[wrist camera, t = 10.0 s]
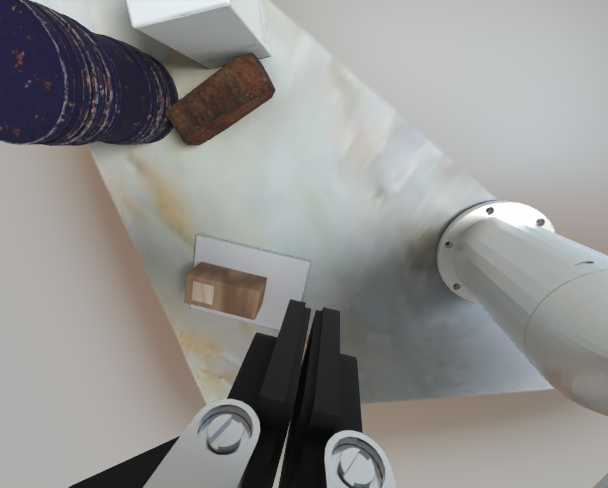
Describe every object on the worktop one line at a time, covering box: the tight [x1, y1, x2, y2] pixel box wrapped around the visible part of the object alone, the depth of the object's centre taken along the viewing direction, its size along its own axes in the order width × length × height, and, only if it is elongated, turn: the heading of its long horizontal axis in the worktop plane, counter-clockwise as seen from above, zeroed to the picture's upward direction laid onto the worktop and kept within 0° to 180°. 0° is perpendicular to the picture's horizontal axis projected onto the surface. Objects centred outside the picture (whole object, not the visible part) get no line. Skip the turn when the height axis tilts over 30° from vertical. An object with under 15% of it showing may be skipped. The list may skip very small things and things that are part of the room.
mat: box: [190, 234, 311, 330], centre depth 40 cm, size 15×11×1 cm
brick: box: [166, 53, 275, 145], centre depth 31 cm, size 11×4×5 cm, turn 121°
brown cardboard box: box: [184, 262, 267, 320], centre depth 38 cm, size 4×4×9 cm
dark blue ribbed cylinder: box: [0, 0, 179, 146], centre depth 27 cm, size 10×10×15 cm
